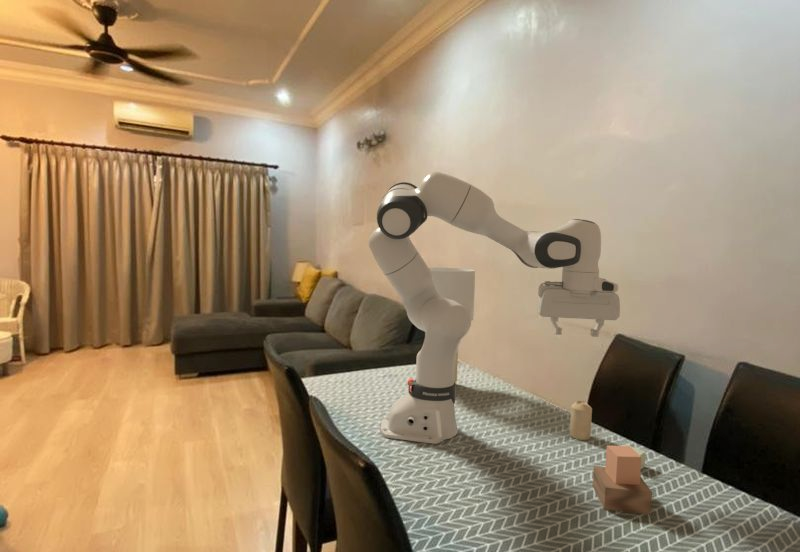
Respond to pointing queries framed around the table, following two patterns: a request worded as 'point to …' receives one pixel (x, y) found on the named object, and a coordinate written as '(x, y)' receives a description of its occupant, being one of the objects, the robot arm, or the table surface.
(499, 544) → the table surface
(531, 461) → the table surface
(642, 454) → the sage block
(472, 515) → the table surface
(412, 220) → the robot arm
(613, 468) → the terracotta block
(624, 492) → the walnut block
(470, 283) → the lamp
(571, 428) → the candle
